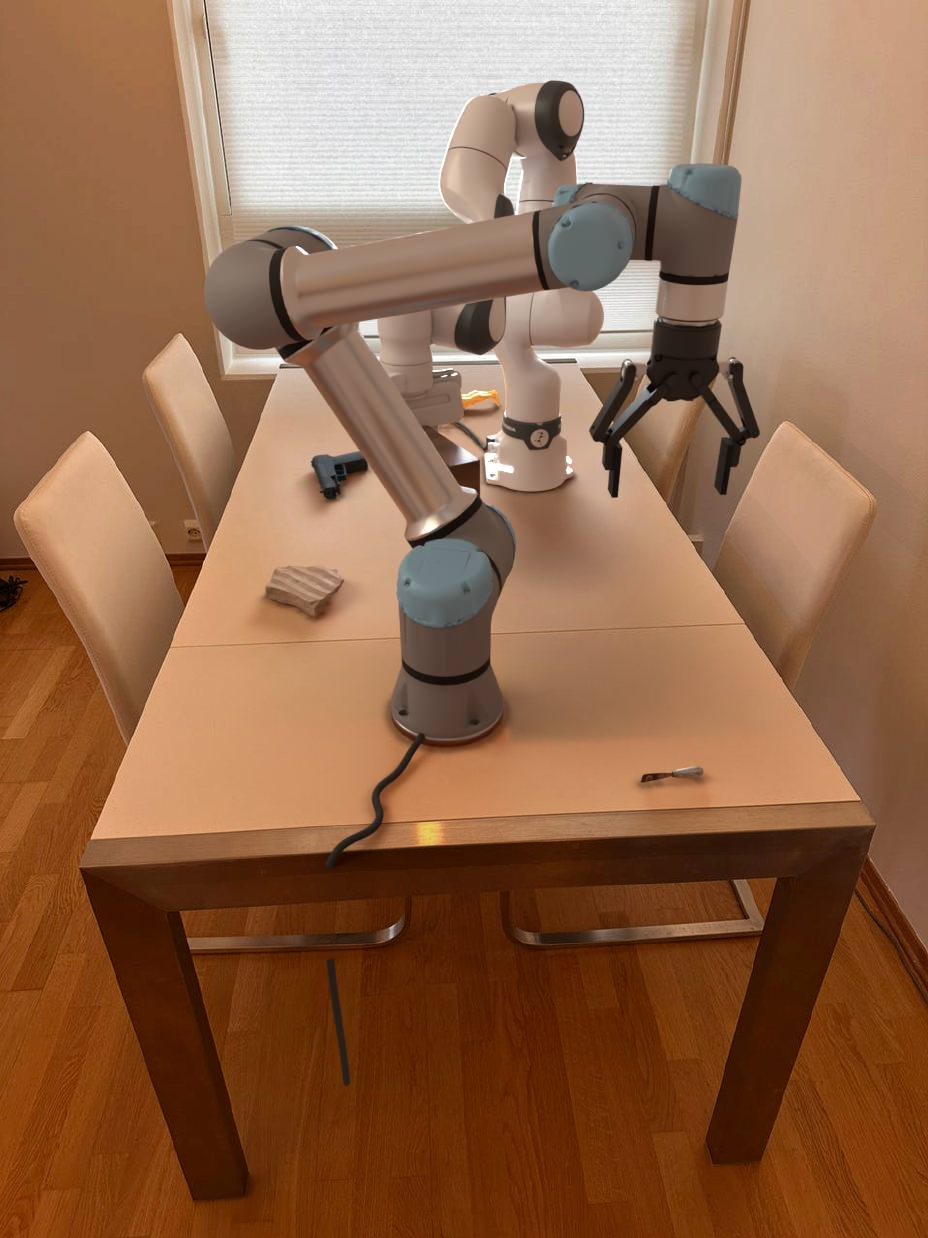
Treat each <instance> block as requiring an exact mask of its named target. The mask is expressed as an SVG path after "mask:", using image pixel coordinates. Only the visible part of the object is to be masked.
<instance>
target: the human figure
mask: <svg viewBox="0 0 928 1238" xmlns="http://www.w3.org/2000/svg"><path fill="white" fill-rule="evenodd" d="M488 400H493V402H494V403H495V404H496V405H497V406H500V398H499V393H498V392H497V391H496V390H495V389H493V390H491V391H478V390H473V391H470V392H469V393H468V394H462V401H463V410H464V409H467V408H469V407H471V406H473V405H476V404H478V403H481V402H484V401H488Z"/></svg>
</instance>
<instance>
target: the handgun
mask: <svg viewBox="0 0 928 1238" xmlns="http://www.w3.org/2000/svg"><path fill="white" fill-rule="evenodd" d="M310 466H311V467H312V469H313V471H314V473H315V475H316V478H317V482H318V485H319V487H320V489H321V490H319V494H322V495H323V497H324V498H325V499H326V500H336V498H337V495H338V496H340V495H341V486H340V482H345V481H347V478H348V477H347V475H352V474H355V473H360V472H363V471H368V470H369V464H368V463H367V461H366V460H365V458H364V457H363V455H362V454H361V452H360V451H359V450H358V451H352V452H348V453H343V454H340V455H335V456H332V455H330V454H318V455H317V454H316V455H315V456H313V457H312V458H311V460H310Z"/></svg>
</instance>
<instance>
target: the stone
mask: <svg viewBox="0 0 928 1238" xmlns="http://www.w3.org/2000/svg"><path fill="white" fill-rule="evenodd" d="M344 582H345V578H344V576H342V575H341V574H339V573H338V569H337V568H336V569H331V568H328V567H325V566H321V565H310V566H300V565H287V566H283V567H282V566H277V567H275V568H274V570H273V573H272V574H271V578H270V581H269V583H267V584H266V585H265V587H264V588H265V593H264V597H265V598H266V599H269V600H273V601H277V602H278V603H280V604H288V605H291V606H294V607H296V608H298V609H300V610H301V611H302V612H305V614H307V615H309V616H310V617H314V618H317V617H318V615H319V614H321V613H322V612H323V611H324V609H325V606H326V604H327V602H328V601H329V600H330V599H331V598H332V596H334V595H335V594H337V593H338V591H340V589H341V587H342V585H343V583H344Z"/></svg>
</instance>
